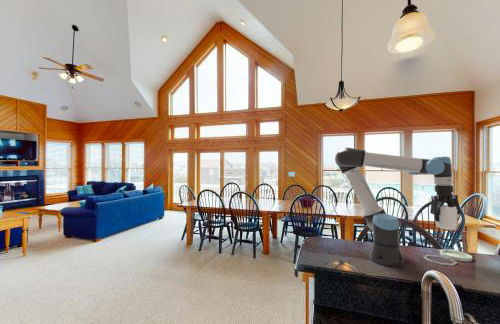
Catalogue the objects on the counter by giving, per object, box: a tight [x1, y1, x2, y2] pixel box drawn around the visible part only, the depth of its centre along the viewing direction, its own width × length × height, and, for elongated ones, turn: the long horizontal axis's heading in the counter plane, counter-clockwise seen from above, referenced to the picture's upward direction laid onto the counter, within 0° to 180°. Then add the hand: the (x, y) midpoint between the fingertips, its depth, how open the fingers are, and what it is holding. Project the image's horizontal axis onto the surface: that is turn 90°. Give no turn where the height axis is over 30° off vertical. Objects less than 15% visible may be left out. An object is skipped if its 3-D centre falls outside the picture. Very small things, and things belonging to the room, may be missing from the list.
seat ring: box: [423, 254, 458, 267], centre depth 115 cm, size 12×12×1 cm
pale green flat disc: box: [439, 249, 473, 262], centre depth 120 cm, size 13×13×2 cm
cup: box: [438, 204, 458, 231], centre depth 117 cm, size 9×9×12 cm
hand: (446, 226), depth 117 cm, fingers closed on cup, 9 cm apart
